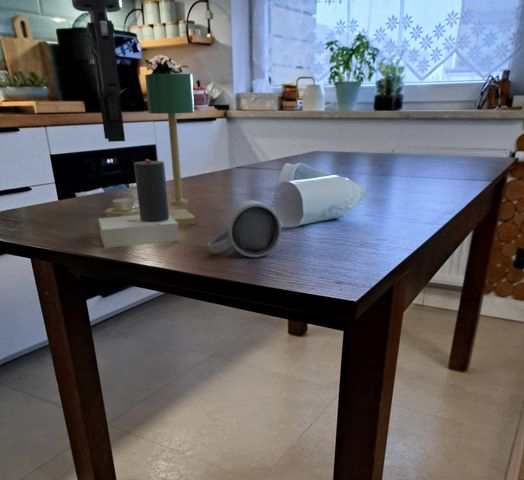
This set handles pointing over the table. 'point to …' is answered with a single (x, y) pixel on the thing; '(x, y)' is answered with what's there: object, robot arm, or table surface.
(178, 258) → the table surface
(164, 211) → the dark grey cylinder
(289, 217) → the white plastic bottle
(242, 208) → the ceramic mug
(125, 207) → the lamp switch
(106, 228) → the plate
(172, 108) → the desk lamp
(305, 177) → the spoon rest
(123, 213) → the lamp base
